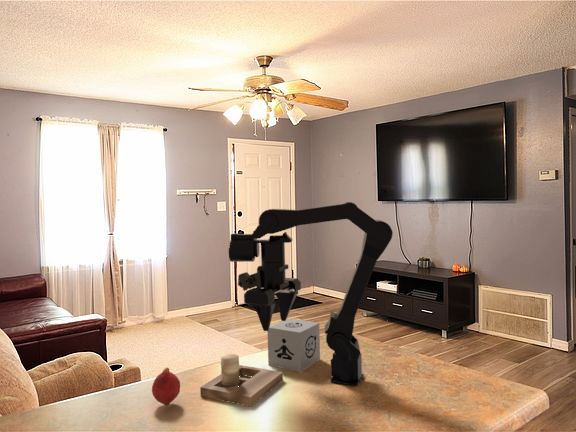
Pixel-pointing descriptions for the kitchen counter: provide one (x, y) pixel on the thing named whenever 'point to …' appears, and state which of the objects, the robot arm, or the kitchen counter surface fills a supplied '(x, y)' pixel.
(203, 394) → the board
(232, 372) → the peg
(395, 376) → the kitchen counter surface
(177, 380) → the onion
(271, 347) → the icon cube
